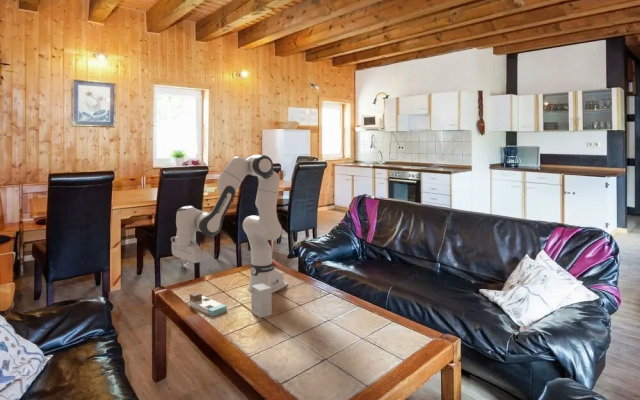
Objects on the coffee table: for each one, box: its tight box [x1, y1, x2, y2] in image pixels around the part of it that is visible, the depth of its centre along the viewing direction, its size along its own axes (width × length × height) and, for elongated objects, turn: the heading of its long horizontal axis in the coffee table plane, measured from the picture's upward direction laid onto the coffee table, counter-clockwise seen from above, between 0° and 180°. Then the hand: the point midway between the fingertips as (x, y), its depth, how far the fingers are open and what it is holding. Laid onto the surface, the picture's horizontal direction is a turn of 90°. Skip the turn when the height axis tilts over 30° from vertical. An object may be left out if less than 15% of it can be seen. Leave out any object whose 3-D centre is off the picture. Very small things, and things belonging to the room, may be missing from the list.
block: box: [189, 291, 203, 303], centre depth 197 cm, size 4×4×3 cm
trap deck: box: [188, 295, 228, 317], centre depth 194 cm, size 8×18×2 cm, turn 50°
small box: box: [250, 283, 273, 319], centre depth 189 cm, size 8×6×13 cm
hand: (186, 267), depth 199 cm, fingers closed
